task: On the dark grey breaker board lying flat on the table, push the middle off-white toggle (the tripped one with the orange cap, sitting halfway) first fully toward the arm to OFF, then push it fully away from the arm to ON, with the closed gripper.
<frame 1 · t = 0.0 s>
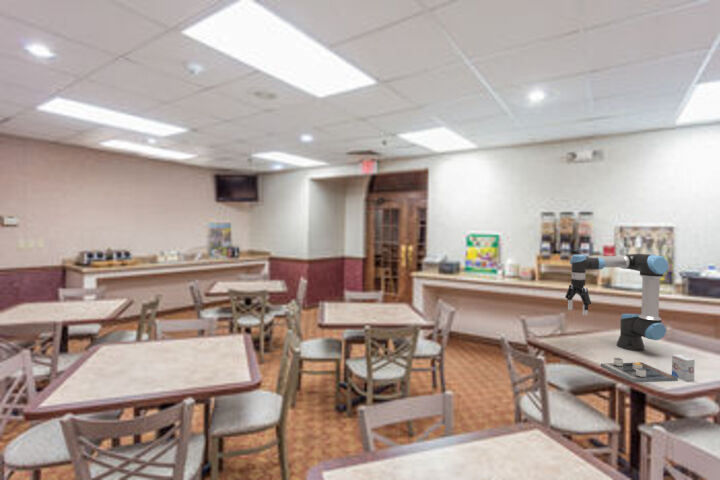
hand: (577, 312, 224), 28 cm above the table, fingers open, 13 cm apart
ink box: (682, 378, 193), on the table
breaker 2: (640, 372, 191), point 4 cm above the table, slide at 5.0 cm
breaker mid: (637, 366, 199), point 4 cm above the table, slide at 0.0 cm
panel: (637, 373, 199), on the table
breaker 1: (618, 361, 206), point 4 cm above the table, slide at 5.0 cm
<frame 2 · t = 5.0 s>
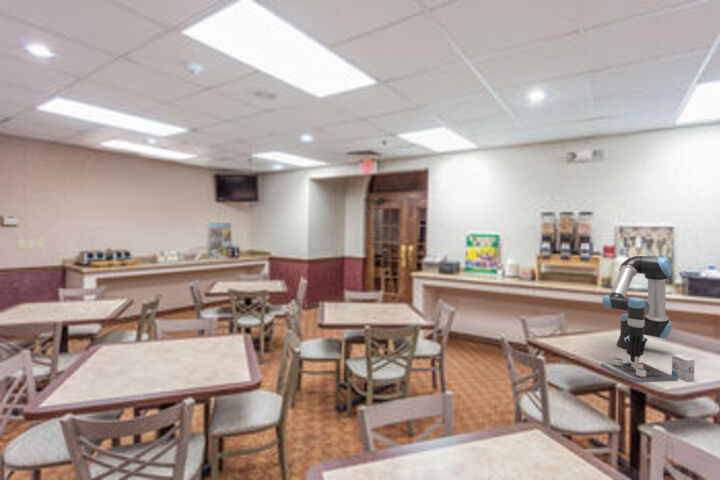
hand: (634, 367, 199), 3 cm above the table, fingers closed
breaker mid: (638, 366, 199), point 4 cm above the table, slide at -0.4 cm, touching gripper
everything else where it was.
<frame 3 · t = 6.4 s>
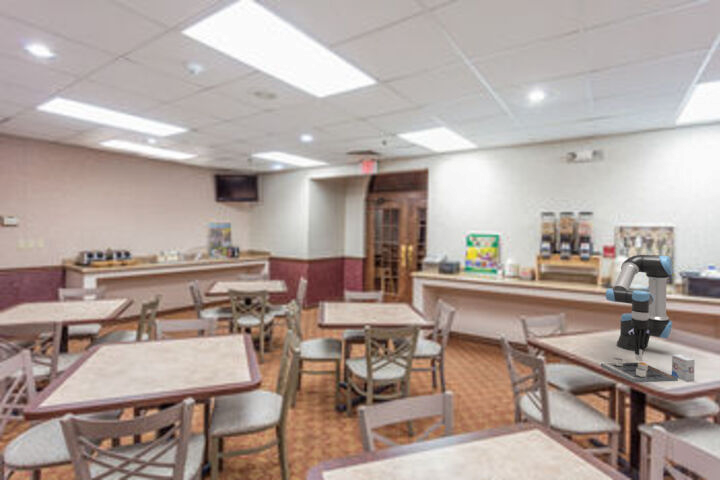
hand: (638, 360, 199), 7 cm above the table, fingers closed
breaker mid: (642, 366, 199), point 4 cm above the table, slide at -3.1 cm
everything else where it was.
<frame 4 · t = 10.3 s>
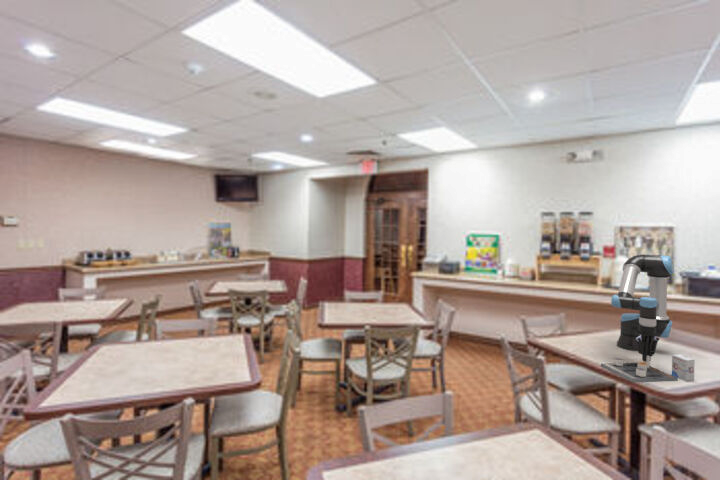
hand: (646, 366, 199), 4 cm above the table, fingers closed
breaker mid: (642, 366, 199), point 4 cm above the table, slide at -2.8 cm, touching gripper
everything else where it was.
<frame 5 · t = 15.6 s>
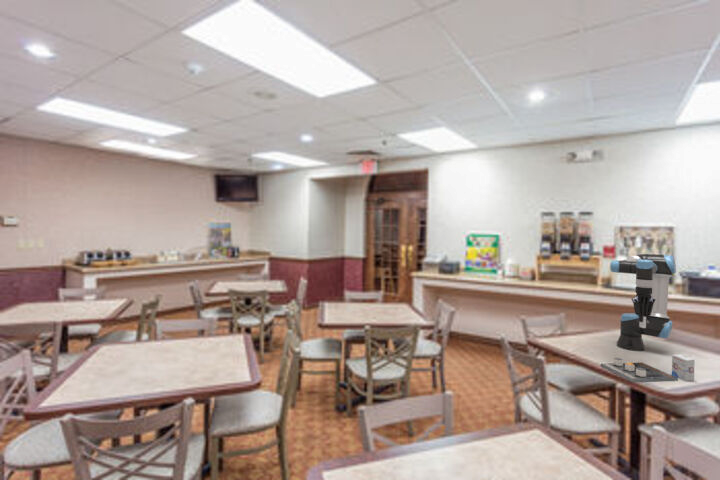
hand: (642, 327, 204), 24 cm above the table, fingers closed
breaker mid: (629, 366, 199), point 4 cm above the table, slide at 4.7 cm
everything else where it was.
at the end: breaker mid slide at 4.7 cm; breaker 2 slide at 5.0 cm; breaker 1 slide at 5.0 cm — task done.
